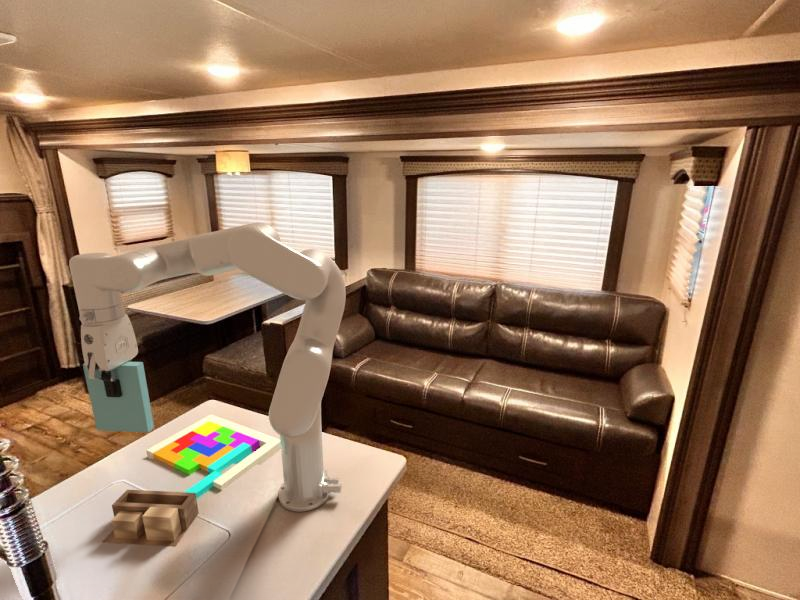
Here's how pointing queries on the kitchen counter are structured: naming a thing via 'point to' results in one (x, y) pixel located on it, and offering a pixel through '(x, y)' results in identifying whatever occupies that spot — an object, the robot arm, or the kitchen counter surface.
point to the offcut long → (162, 523)
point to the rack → (147, 499)
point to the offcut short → (128, 525)
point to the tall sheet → (122, 401)
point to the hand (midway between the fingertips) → (118, 393)
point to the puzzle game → (215, 451)
